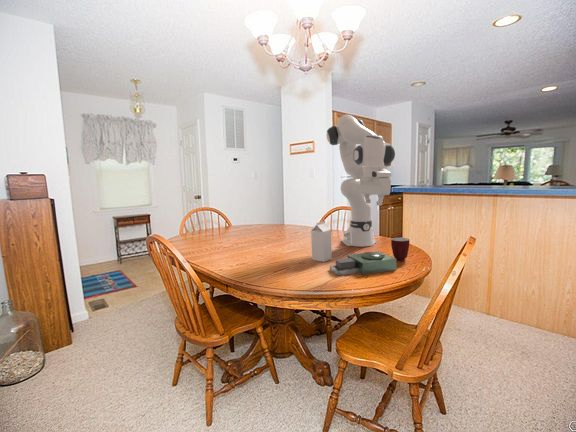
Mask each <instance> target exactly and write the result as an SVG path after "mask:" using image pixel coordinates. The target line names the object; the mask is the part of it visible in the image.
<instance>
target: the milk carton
mask: <svg viewBox="0 0 576 432" xmlns="http://www.w3.org/2000/svg"><path fill="white" fill-rule="evenodd" d="M310 232H311V233H310V234H311V239H310V240H311V260H312V261H316V262H322V263H325V262H327V261H330V260H331V259H332V258H333V257H332V251H333V250H332V228H331V227H329V226H328V225H327V223H326V221H325V220H322V221H319V222H316V224H315V225H314V227H313V228H312V229H311V230H310Z"/></svg>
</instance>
